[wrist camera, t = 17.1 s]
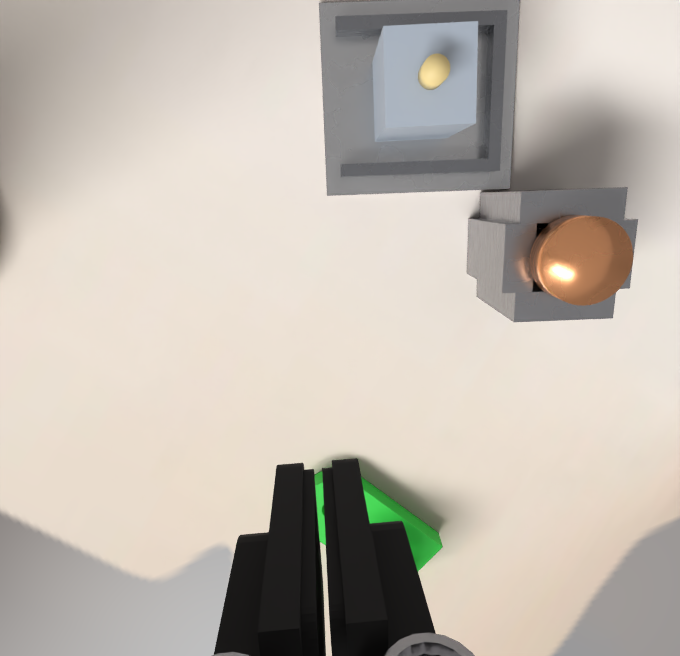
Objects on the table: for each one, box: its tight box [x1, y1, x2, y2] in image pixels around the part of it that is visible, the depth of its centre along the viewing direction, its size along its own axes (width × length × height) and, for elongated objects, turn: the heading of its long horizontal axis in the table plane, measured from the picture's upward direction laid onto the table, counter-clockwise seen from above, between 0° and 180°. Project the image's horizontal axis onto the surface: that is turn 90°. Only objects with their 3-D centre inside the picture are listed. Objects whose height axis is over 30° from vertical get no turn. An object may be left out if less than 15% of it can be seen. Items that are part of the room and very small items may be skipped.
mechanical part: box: [314, 471, 443, 571], centre depth 38 cm, size 12×6×8 cm, turn 51°
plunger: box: [529, 215, 633, 306], centre depth 30 cm, size 5×5×8 cm
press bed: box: [319, 0, 520, 196], centre depth 32 cm, size 13×12×2 cm
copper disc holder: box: [467, 187, 638, 322], centre depth 32 cm, size 8×8×8 cm
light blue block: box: [372, 21, 478, 142], centre depth 29 cm, size 5×5×8 cm
